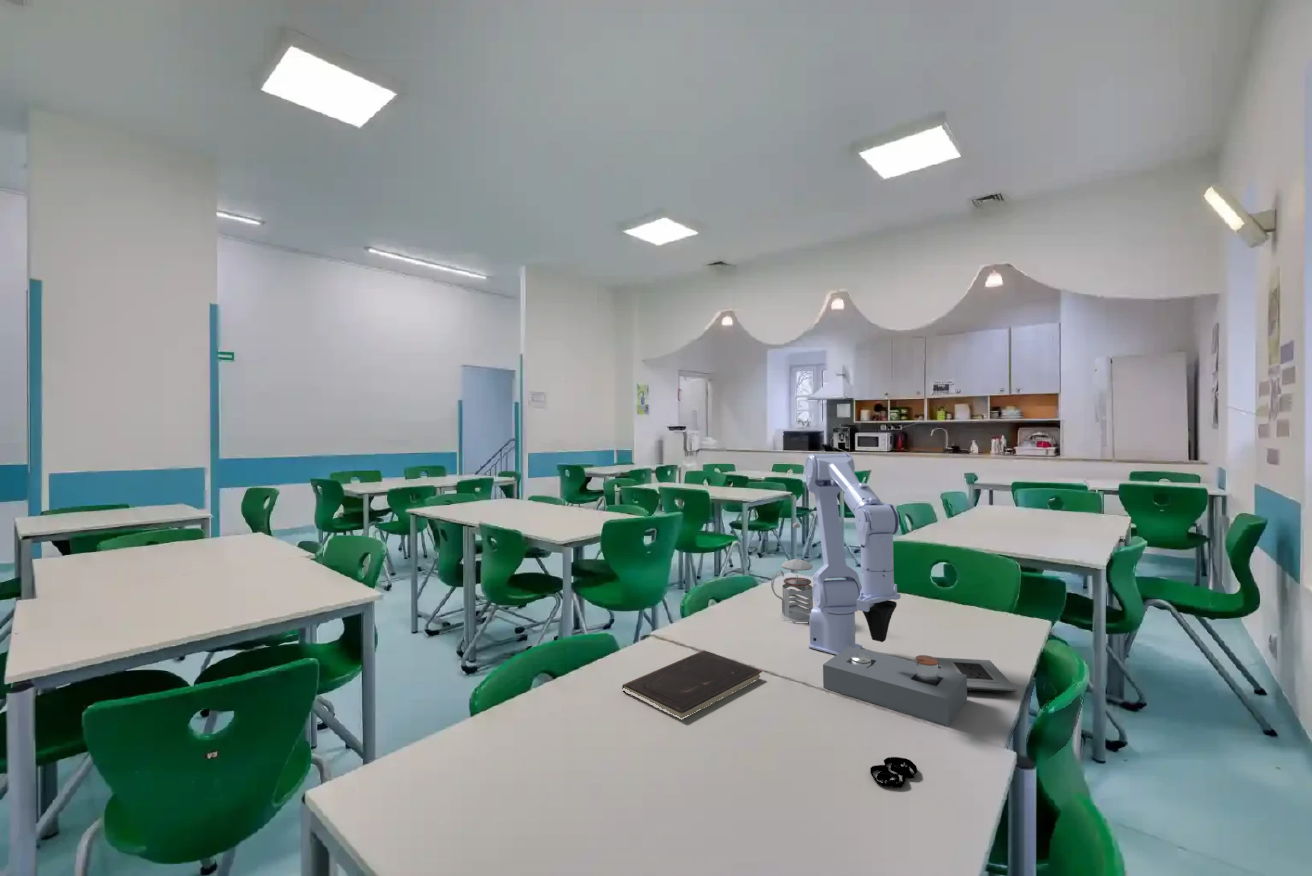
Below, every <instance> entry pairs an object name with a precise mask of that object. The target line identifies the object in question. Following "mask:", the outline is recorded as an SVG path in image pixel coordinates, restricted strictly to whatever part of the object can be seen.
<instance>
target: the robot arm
mask: <svg viewBox="0 0 1312 876" xmlns="http://www.w3.org/2000/svg"><path fill="white" fill-rule="evenodd" d="M855 470H856V469H855V461H854V459H853V456H852V455H851V454H850V453H849V452H844V453H819V454H815V453H810V454H808V455H807V457H806V459H805V463H804V474H805V483H806V487H807V491H809V492H810V493H813V495H814V500H815V506H816V513H817V514H816V515H817V520H818V522H817V523H818V529H819V530H818V531H819V537H820V544H821V545H820V546H821V552H822V554H821V555H822V562H823V565H822V566H821V567H820V568H818V569H817V571H815V573H814V574H813V575H812V584H813V585H812V587H813V603H814V604H815V605H813V609H812V610H811V614H810V623H809V644H808V648H809V649H813V650H816V651H821V652H825V653H829V654H833V655H834V656H836V655H837V654H839V653H840V652H841V651H843V650H844V649H846V648H847V647H848V646H852V647H856V648H860V649H863V644H860V643H856V612H858V611H861V612H862V614H863V616H864V618H865V620H866V622H867V626H868V629H869V633H870V637H871V640H872V641H876V642H880V643H884V642H885V641H886V639H887V636H888V632H889V626H890V622H891V620H892V616H893V615H894V612H895V609H896V608H897V606H898V605H897V604H898V603H897V601H898V600H900V599H901V596H902V595H901V593H898V584H896V583H895V576H894V574H895V573H894V572H895V571H894V567H895V566H894V535H896V534H897V533H898V531H899V528H900V527H899V526H900V518H899V514H898V513H899V512H898V511H897V509H896V507H895V506H894V504H893V503H886V502H882V501H881V499H880V497H878V495H877V494H876V493H875V492H874V491H873V489H872V488H871V487H870V485H869V484H867V483H866V482H860V481H859V479H858V477H857V475H856V474H855ZM841 492H843V493H844V494H843V501H844V503H845V504H846V506H847V507H848V508H849V510H850V511H851V513H852V514H853V515H854V525H855V530H856V531H857V532H856V533H857V540H858V544H860V565H861V566H860V569H861V570H860V572H861V573H860V574H861V575H860V577H861V581H860V577H859V573H858V572H857V571H856V570H854V569H853V568H851V567H850V566H849V565H847V561H846V556H845V555H846V554H845V546H844V540H843V533H842V526H841V525H842V524H841V517H840V511H839V510H840V509H839V504H838V495H839V494H840V493H841ZM836 578H837V579H836ZM840 578H841V579H840ZM827 579H828V580H827ZM893 600H895V601H893ZM896 600H897V601H896Z"/></svg>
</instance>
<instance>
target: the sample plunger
mask: <svg viewBox="0 0 1312 876" xmlns="http://www.w3.org/2000/svg"><path fill="white" fill-rule="evenodd" d="M851 664H855V665H859V666H862V667H866V668H869V667H870V666H871V658H870V657H869V656H867V655H863V654H855V655H852V656H851Z"/></svg>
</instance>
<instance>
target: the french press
mask: <svg viewBox="0 0 1312 876" xmlns="http://www.w3.org/2000/svg"><path fill="white" fill-rule="evenodd" d="M792 528H794V529H795V552H796V553H795V554H796V555H795V556H796V557H795V558H794V559H790V560H786V561H784V562H783V563H781V567H782V569H785V570H790V571H796V572H798V571H809V570H812V569H813V564H811V562H809V561H806V560H804V559H799V558H798V544H797V543H798V541H797V539H798V538H797V535H798V533H797V530H798V529H799V528H801V525H800V523H799V522H794V523H793V524H792ZM784 573H785V572H783V570H778V571H776V572H775V573H774V574H773V575H772V578H771V581H770V583H771V584H770V585H771V591H772V593H773V594H774V596H775V597H777V598H778V599H780V600H781V613H780V614H779V615H780V616H781V618H782V619H784V620H786V621H792V622H810V614H811V610H812V609H813V607H814V598H813V585H811V584H812V580H810V579H809V578H805V577H799V576H796V577H795V576H790V577H786V578H784V575H785V574H784ZM780 574H781V576H782V577H783V578H784V579H783V580H782V581H783V584H782V596H780V595H778V594H777V593H776V592H775V588H774V583H775V580H776V578H777V577H778V575H780ZM790 587H792V588H790ZM788 588H789V589H788ZM793 588H795V589H793ZM796 589H797V590H796ZM786 621H785V622H786Z"/></svg>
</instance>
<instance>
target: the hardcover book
mask: <svg viewBox="0 0 1312 876" xmlns="http://www.w3.org/2000/svg"><path fill="white" fill-rule="evenodd" d="M761 673H763V671H762V670H761V669H759V668H756V667H752V666H750V665H747V664H744V663H741V662H739V661H735V660H733V659H730V658H727V657H724V656H721V655H718V654H716V653H712V652H711V651H707V650H705V649H704V650H701V651H699V652H695V653H694V654H691V655H689V656H687V657H685V658H682V659H680V660H677V661H675V662H673V663H671V664H668V665H666V666H663V667H661V668H659V669H657V670H653V671H651V672H650V673H647V674H645V675H643V676H640V677H637V678H635V679H633V680H631V681H628V682H626V683H623V684H622V687H621V690H622V689H623V688H625V689H627V690H629V691H630V692H633V693H635V694H637V695H638V696H641V697H643V698H645V699H647V700H649V701H650V702H652V703H655V704H656V705H658V706H659V707H661V708H662V709H666V710H667V711H669V712H670V713H672V714H674V715H677V716H679V717H680V718H683V717H685V716H687V715H690V714H692V713H694V712H696V711H697V710H699V709H703V708H704V707H706V706H708V705H710V704H711V703H714V702H716V701H717V700H719V699H721V698H722V697H725V696H727V695H729V694H731V693H732V692H734V693H736V692H738V691H740V690H741V689H740V688H742V687H744V686H746V685H748V684H750V683H751V682H753V681H754V680H757V681H758V679H759V678H760V677H761V675H760V674H761ZM759 680H760V679H759ZM753 683H754V682H753ZM751 684H752V683H751ZM751 684H750V685H751ZM748 686H749V685H748ZM746 687H747V686H746ZM744 688H745V687H744ZM739 689H740V690H739ZM742 689H743V688H742ZM737 690H738V691H737ZM735 691H736V692H735ZM731 695H732V694H731ZM729 696H730V695H729ZM727 697H728V696H727ZM725 698H726V697H725ZM721 700H722V699H721ZM719 701H720V700H719ZM716 703H717V702H716ZM714 704H715V703H714ZM710 706H711V705H710ZM708 707H709V706H708ZM706 708H707V707H706ZM704 709H705V708H704ZM704 709H703V710H704Z"/></svg>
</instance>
